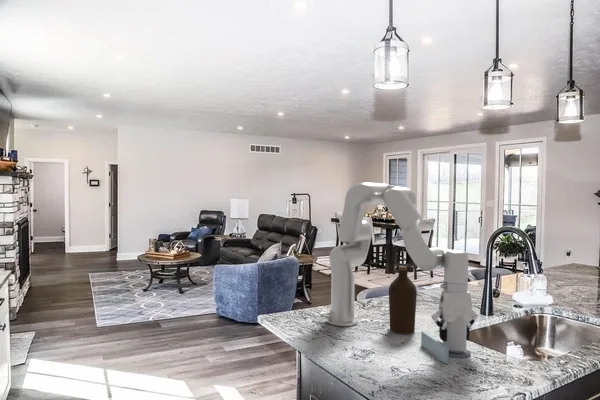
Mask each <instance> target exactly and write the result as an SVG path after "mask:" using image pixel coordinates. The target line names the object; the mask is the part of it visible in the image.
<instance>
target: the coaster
mask: <svg viewBox="0 0 600 400" xmlns="http://www.w3.org/2000/svg"><path fill="white" fill-rule="evenodd" d="M471 355H472V353H471V351H470V350H468V349H467V348H466V349H465V350H464V351H463V352H460V353H456V352H450V351H449V358H452V359H454V358H455V359H467V358H470V357H471Z"/></svg>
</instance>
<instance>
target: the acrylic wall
mask: <svg viewBox="0 0 600 400" xmlns="http://www.w3.org/2000/svg"><path fill="white" fill-rule="evenodd" d="M420 337H421V338H420V339H421V340H420V341H421V342H420V345H421V347H423V348H424V349H425V350H427V351H428V352H430V353H431V355H433V356H435V358H437V359H438V360H439V361H441V362H442V363H443V364H449V358H450V357H449V347H447V346H446V345H444V344H443V342H442V341H440V340H438V339H437V338H436V337H434V336H433V335H431V334H430V333H429V332H427V331H426V330H421V336H420Z"/></svg>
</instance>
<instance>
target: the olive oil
mask: <svg viewBox="0 0 600 400" xmlns="http://www.w3.org/2000/svg"><path fill="white" fill-rule="evenodd" d="M417 292H418V291H417V287H416V285H415V284H414V282H413V281H412V280H411V279H410V277H408V266H407V265H399V266H398V276H396V278H395V279H393V281H392V282H391V283H390V285H389V288H388V309H389V310H388V311H389V313H388V314H389V330H390V331H391V332H392V333H395V334H399V335H412V334H414V333H415V329H416V327H415V326H416V309H417V297H418V296H417V295H418V293H417Z"/></svg>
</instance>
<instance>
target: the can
mask: <svg viewBox="0 0 600 400" xmlns="http://www.w3.org/2000/svg"><path fill="white" fill-rule="evenodd" d="M456 318H457V319H455V320H454V321H453V322H452V323H447V326H446V328H445V329H446V330H447V341H445V342H444V341H443V340H442V343H443V344H444V345H446V346H447V347H449V351H450V352H456V353H460V352H463V351H464V350H465V349H466V350H467V340H466V336H467V322H466V320H464V319H462V318H463V317H456Z"/></svg>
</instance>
